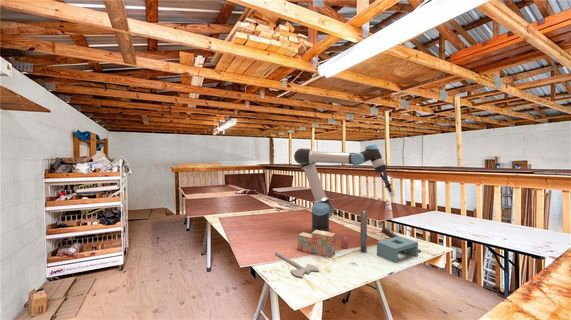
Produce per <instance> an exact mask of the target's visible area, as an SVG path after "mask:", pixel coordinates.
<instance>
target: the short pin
mask: <svg viewBox="0 0 571 320" xmlns="http://www.w3.org/2000/svg"><path fill="white" fill-rule="evenodd" d="M348 241H349V237H348V236H346V235H343V236H341V248H342V249H348V248H349V247H348V245H349V242H348Z"/></svg>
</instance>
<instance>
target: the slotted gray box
mask: <svg viewBox="0 0 571 320" xmlns="http://www.w3.org/2000/svg"><path fill="white" fill-rule="evenodd" d="M380 232H381V233H382V234H385V235H387V236H389V237H390V238H393V237H397V236H399V235H398V234H396V233H395V232H394V231H391V230H389V229H388V228H387V227H382V229H381V230H380ZM421 252H422V250H421V249H419V248H418V253H421Z"/></svg>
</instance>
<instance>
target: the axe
mask: <svg viewBox="0 0 571 320" xmlns="http://www.w3.org/2000/svg"><path fill="white" fill-rule="evenodd" d="M274 255H275V256H276V257H278V258H281V259H283V260H284V261H285V262H287V263H289V264H290V265H292V266H293V267H295V268H297V269H294V268H293V269H290V272H291V274H292V275H294V276H296V277H300V278H304V275H305V274H306V275H310V274H311V273H312V272H320V269H319V267H317V266H315V265H313V264H310V263H307V264H306V266H305V267H304V266H302V265H300V264H299V263H297V262H295V260H292V259H290V258H289V257H287V256H285V255H283V254H282V253H281V252H280V251H278V250H276V251H275V253H274Z"/></svg>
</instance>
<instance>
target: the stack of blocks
mask: <svg viewBox="0 0 571 320" xmlns="http://www.w3.org/2000/svg"><path fill="white" fill-rule="evenodd" d="M330 232H331V231H330ZM330 232H326V231H320V230H315V231H314V232H312V234H310V232H309V233H307V232H301V233H299V234H298V235H297V240H298V241H297V244H298V246H297V249H298V251H302V252H305V253H311V254H315V255H319V256H323V257H326V258H330V259H331V258H333V257H334V256H335V255H336V233H335V232H331V233H330Z"/></svg>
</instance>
